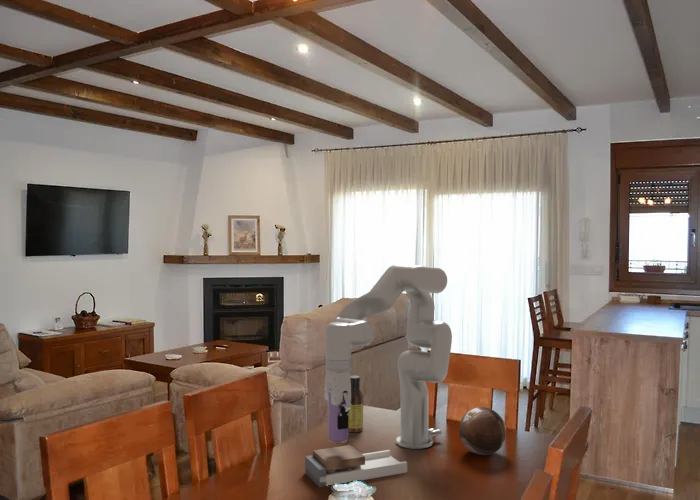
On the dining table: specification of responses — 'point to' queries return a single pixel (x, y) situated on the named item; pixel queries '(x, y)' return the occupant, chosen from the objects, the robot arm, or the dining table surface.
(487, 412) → the wooden sphere
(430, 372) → the robot arm
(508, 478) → the dining table surface
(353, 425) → the sauce bottle
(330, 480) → the track
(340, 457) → the slab
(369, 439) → the dining table surface
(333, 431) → the beverage can
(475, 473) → the dining table surface
